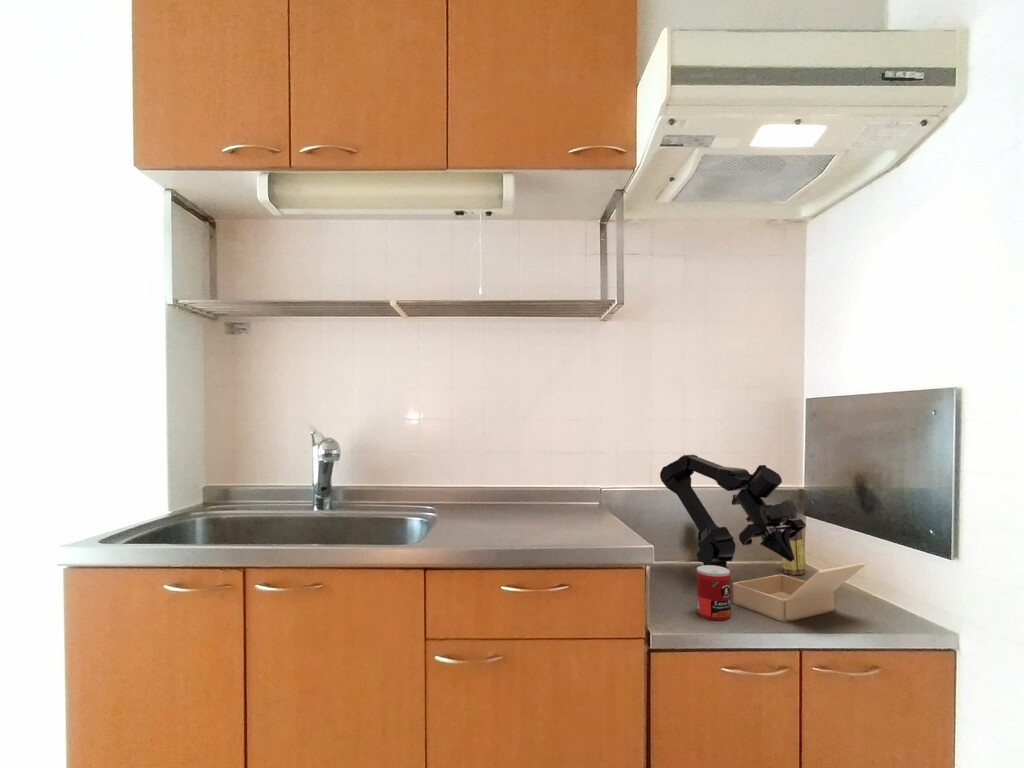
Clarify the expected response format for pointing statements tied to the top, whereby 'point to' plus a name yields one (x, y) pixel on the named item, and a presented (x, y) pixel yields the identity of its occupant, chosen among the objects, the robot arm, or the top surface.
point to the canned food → (713, 592)
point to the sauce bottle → (795, 553)
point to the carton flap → (826, 581)
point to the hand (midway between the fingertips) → (792, 560)
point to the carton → (780, 598)
